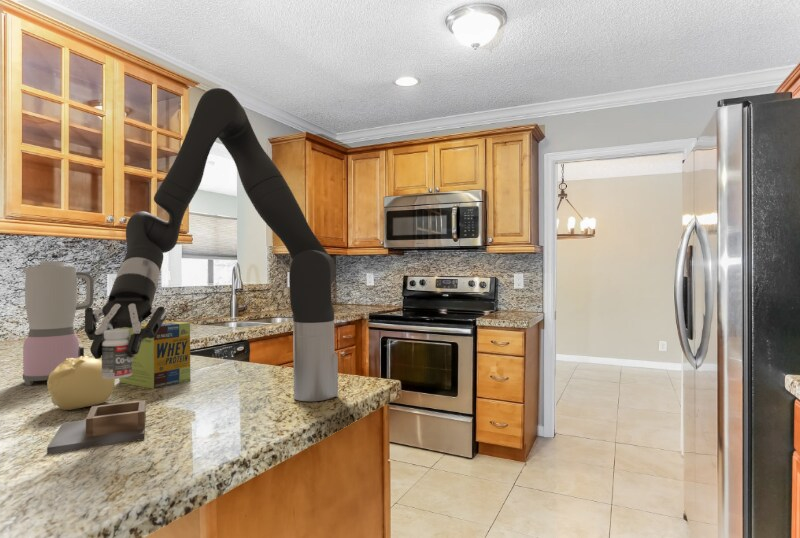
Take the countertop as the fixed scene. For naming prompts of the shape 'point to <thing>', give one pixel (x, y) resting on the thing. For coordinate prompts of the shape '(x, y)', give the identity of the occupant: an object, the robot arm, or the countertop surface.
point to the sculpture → (79, 383)
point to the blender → (52, 317)
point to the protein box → (162, 357)
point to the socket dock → (102, 427)
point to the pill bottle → (116, 354)
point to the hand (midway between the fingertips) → (113, 355)
